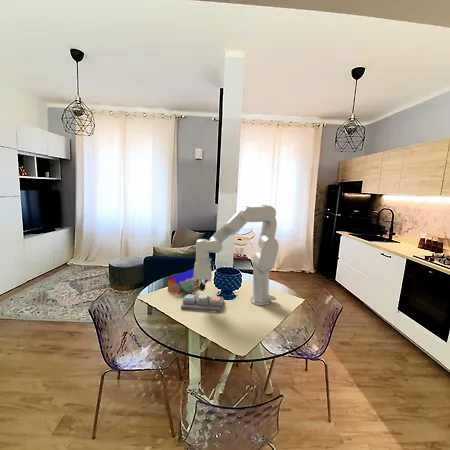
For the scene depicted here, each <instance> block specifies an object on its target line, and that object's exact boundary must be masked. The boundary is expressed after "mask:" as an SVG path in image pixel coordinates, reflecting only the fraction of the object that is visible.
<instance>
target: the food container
mask: <svg viewBox="0 0 450 450" xmlns="http://www.w3.org/2000/svg"><path fill="white" fill-rule="evenodd" d="M193 279H194V277H193V276H192V278H190V279H186V280H184V281H180V283H179V284H180V287H181V294H182V295H181V294H180V295H181V296H184V295H189V294H192V293H193V292H194V293H195V288H194V283H195V280H193ZM194 293H193V294H194ZM193 294H192V295H193Z"/></svg>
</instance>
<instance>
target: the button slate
mask: <svg viewBox="0 0 450 450" xmlns="http://www.w3.org/2000/svg"><path fill="white" fill-rule="evenodd" d="M195 295H196V294H192V295H187V296H186V297H185V296H184V297H185V299H190V300H194V298H195Z"/></svg>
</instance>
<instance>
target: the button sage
mask: <svg viewBox="0 0 450 450" xmlns="http://www.w3.org/2000/svg"><path fill="white" fill-rule="evenodd" d="M198 296H199V297H198ZM198 296H197V297H198V300H204V301H207V299H208V296H209V294H203V293H201V294H199V295H198Z"/></svg>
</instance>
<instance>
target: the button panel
mask: <svg viewBox="0 0 450 450" xmlns="http://www.w3.org/2000/svg"><path fill="white" fill-rule="evenodd" d="M194 295H195V298H194V300H190V299H185V297H186V296H187V295H186V296H184V297H183V299H182V304H181V305H180V310H184V311H185V310H186V311H199V312H209V311H216V312H215V313H221V311H220V310H222V308H223V305H224V303H223V302H225V299H224V297H223V296H220V297H221V301H220V302H218V301H211V299H212V297H213V296H212V295H211V296H210V295H208V299H207V301H204V300H198V297H199V295H196V294H194ZM221 307H222V308H221Z"/></svg>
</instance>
